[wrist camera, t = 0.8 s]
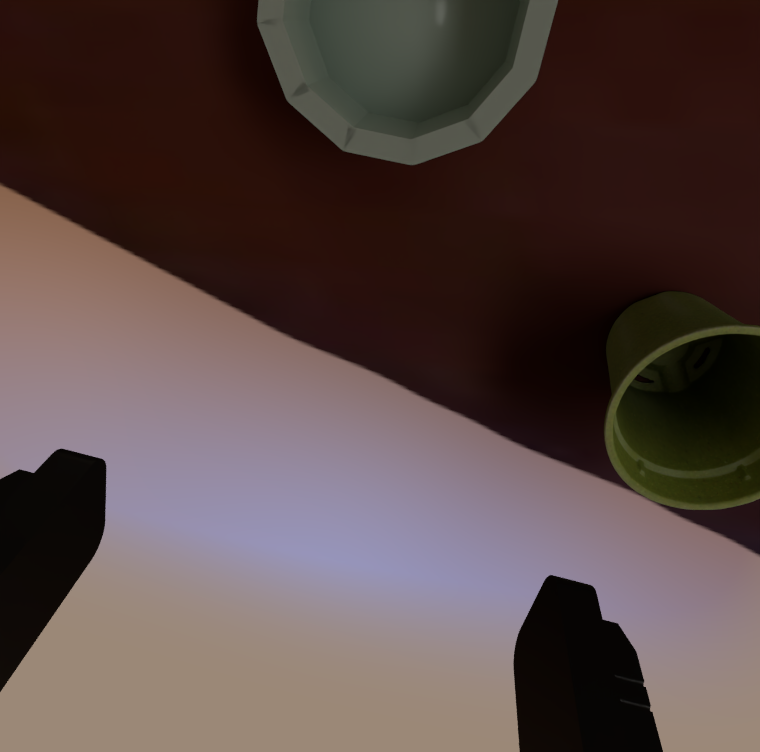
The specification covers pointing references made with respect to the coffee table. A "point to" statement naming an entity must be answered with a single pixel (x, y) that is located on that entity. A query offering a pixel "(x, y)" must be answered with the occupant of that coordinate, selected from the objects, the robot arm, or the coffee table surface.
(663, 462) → the plant pot
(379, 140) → the bowl
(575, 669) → the robot arm
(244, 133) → the coffee table surface
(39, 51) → the coffee table surface
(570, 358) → the coffee table surface
